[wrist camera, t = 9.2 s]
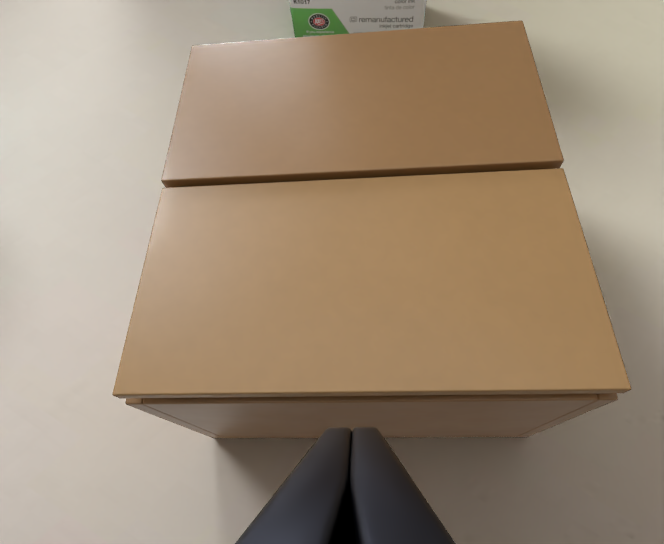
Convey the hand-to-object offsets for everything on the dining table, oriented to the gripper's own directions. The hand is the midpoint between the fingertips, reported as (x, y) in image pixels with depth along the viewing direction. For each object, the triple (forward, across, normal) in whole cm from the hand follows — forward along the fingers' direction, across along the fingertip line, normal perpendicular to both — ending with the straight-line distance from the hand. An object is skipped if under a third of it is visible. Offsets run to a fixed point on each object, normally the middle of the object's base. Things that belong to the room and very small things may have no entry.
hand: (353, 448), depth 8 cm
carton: (+14, 0, +2) cm, 14 cm away
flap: (+6, 0, -1) cm, 6 cm away
